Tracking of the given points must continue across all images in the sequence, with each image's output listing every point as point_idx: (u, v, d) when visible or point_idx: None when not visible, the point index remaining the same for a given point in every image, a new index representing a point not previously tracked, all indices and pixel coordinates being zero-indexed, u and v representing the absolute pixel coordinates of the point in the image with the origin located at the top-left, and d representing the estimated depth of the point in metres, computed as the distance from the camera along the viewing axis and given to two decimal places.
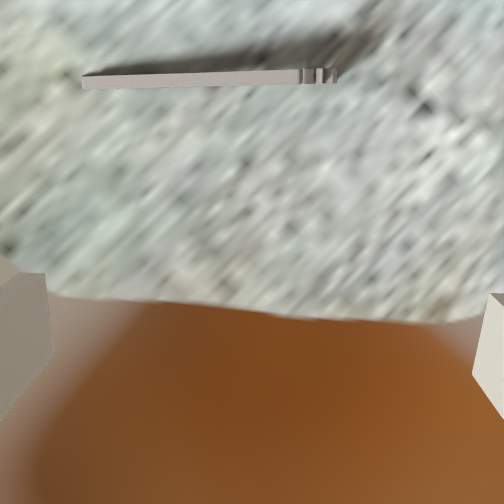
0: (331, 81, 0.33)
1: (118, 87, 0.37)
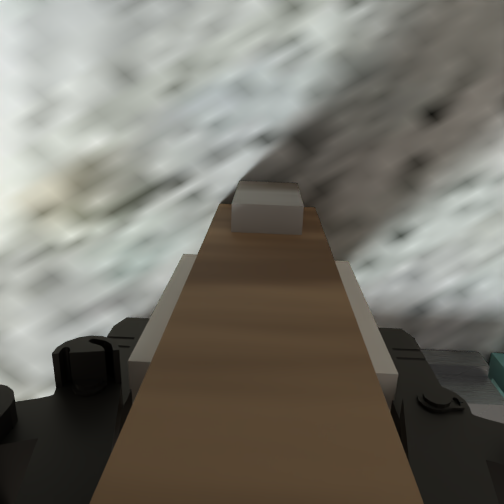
0: None
1: None
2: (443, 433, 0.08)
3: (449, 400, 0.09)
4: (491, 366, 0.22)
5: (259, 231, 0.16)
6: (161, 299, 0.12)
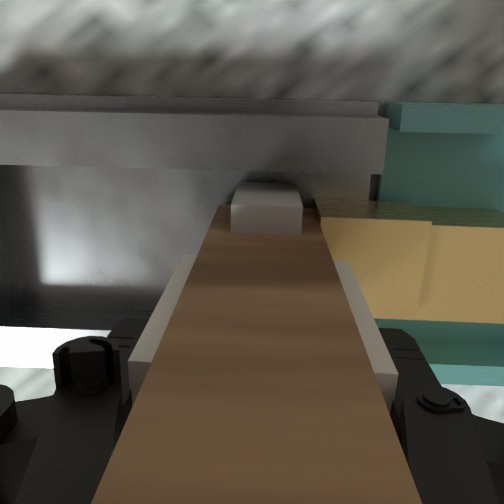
0: None
1: None
2: (443, 433, 0.08)
3: (449, 400, 0.09)
4: (386, 115, 0.20)
5: (258, 232, 0.16)
6: (161, 299, 0.12)
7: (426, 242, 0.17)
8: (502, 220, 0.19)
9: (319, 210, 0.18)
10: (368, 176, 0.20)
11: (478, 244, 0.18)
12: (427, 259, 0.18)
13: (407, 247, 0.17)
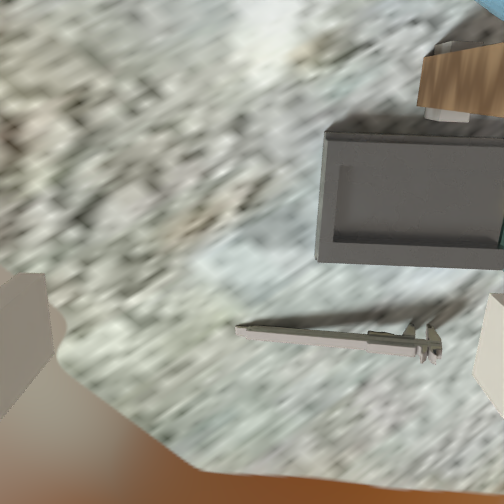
0: (440, 357, 0.45)
1: (267, 340, 0.49)
2: None
3: None
4: None
5: None
6: None
7: None
8: None
9: None
10: None
11: None
12: None
13: None
